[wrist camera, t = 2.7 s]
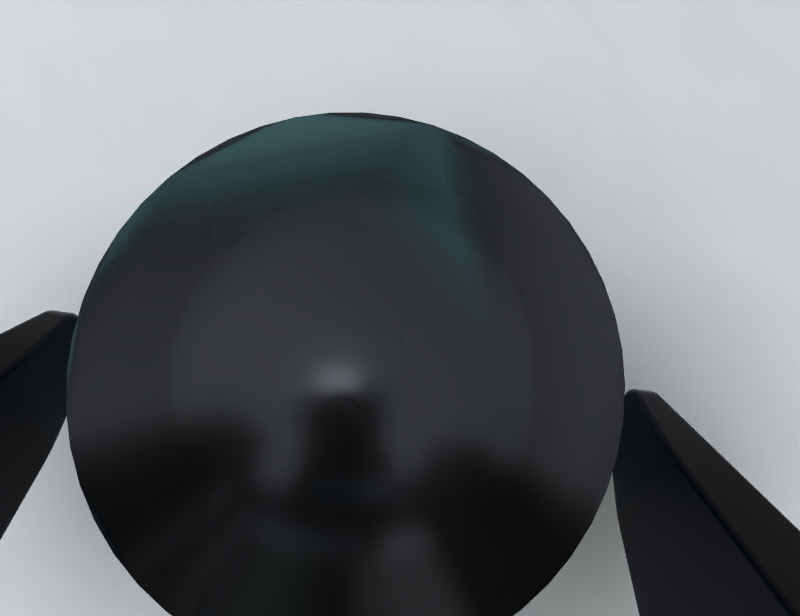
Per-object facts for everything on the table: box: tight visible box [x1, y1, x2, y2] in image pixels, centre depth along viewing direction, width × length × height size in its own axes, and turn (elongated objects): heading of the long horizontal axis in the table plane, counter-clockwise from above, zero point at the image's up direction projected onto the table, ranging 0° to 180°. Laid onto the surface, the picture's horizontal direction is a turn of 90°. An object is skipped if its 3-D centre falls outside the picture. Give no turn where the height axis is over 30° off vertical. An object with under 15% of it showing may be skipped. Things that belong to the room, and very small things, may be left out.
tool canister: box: [66, 113, 625, 616], centre depth 11 cm, size 5×5×12 cm
